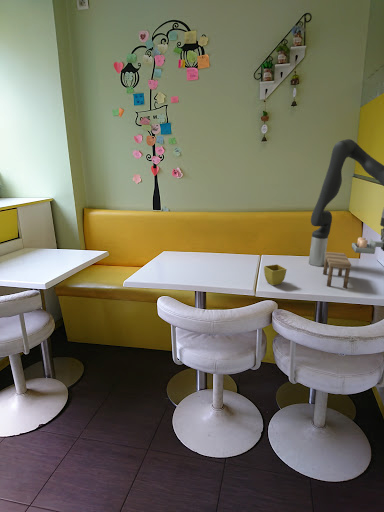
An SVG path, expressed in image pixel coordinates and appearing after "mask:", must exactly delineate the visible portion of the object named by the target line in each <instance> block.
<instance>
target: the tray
mask: <svg viewBox="0 0 384 512" xmlns="http://www.w3.org/2000/svg"><path fill="white" fill-rule="evenodd" d="M368 242H369V243H368ZM383 244H384V242H382V240H373V239H371V238H369V241H368V239H366V238H365V237H361V236H360V237H358V238H357V243H356V242H352V243H351V249H352V250H353V251H354V252H355V254H369V255H370V254H371V255H375V253H376V249H377V248H381V247H383Z"/></svg>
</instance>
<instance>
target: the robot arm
mask: <svg viewBox="0 0 384 512" xmlns="http://www.w3.org/2000/svg"><path fill="white" fill-rule="evenodd" d="M347 158H350V159H352V160H354V161H356V162H357V163H358V164H359V165H360V166H361V167H362V169H363V170H364V171H365V173H367V174H368V175H369V176H371V177H372V178H373V179H375V180H377V181H378V182H379V183H380V184H381V185H382V186H383V187H384V164H382V163H381V162H379V161H378V160H377V159H376V158H373V157H372V156H371V155H370V154H368V153H367V152H366V151H365V150H364V149H363V148H361V146H360V145H359V144H358V143H357V142H355V140H352V139H350V138H348V139H343V140H342V139H341V140H339V141H337V142H336V143H335V144H334V145H333V148H332V152H331V156H330V161H329V165H328V168H327V171H326V174H325V178H324V181H323V183H322V185H321V189H320V193H319V197H318V199H317V202H316V204H315V207H314V208H313V211H312V212H311V217H310V224H311V226H312V227H313V226H314V227H319V228H318V229H316V230H313V231H312V233H311V241H310V250H309V251H310V252H309V257H308V259H309V260H308V264H309V265H311V266H315V267H322V266H323V267H324V262H325V253H326V252H327V247H328V240H329V235H330V233H331V228H332V223H333V222H332V221H333V216H332V215H333V214H332V212H331V211H329V210H325V209H326V207H327V206H328V205H329V203H331V202H332V201H333V200H334V198H336V197H337V195H338V193H339V191H340V189H341V186H342V182H343V177H342V172H343V171H342V169H343V166H344V164H345V161H346V159H347ZM379 225H380V226H381V227H383V228H381V229H380V241H381V242H384V208H383V209H382V212H381V219H380V223H379ZM380 250H382V251H383V252H384V244H383V247H380Z"/></svg>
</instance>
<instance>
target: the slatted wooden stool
mask: <svg viewBox="0 0 384 512" xmlns="http://www.w3.org/2000/svg"><path fill="white" fill-rule="evenodd" d="M351 267H352V264H351V262H350V260H349V258H348V257H347V255H346V253H343V252H334V251H333V252H332V251H326V253H325V262H324V265H323V271H322V275H325V276H327V279H326V280H327V281H326V286H327V287H328V288H330V287H331V286H332V281H333V280H332V279H333V272H334V268H338V272H337V276H338V277H342V276H343V269H345V271H344V277H343V285H342V288H344V289H348V283H349V278H350V273H351Z"/></svg>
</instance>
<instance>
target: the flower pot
mask: <svg viewBox="0 0 384 512" xmlns="http://www.w3.org/2000/svg"><path fill="white" fill-rule="evenodd" d="M287 270H288V269H287V268H285V267H283V266H281V265H279V264H270V265H264V266H263V274H264V278H265V280H266V281H267V283H268V284H270V285H272V286H277V285H281V284H283V282H284V280H285V278H286V275H287Z"/></svg>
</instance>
